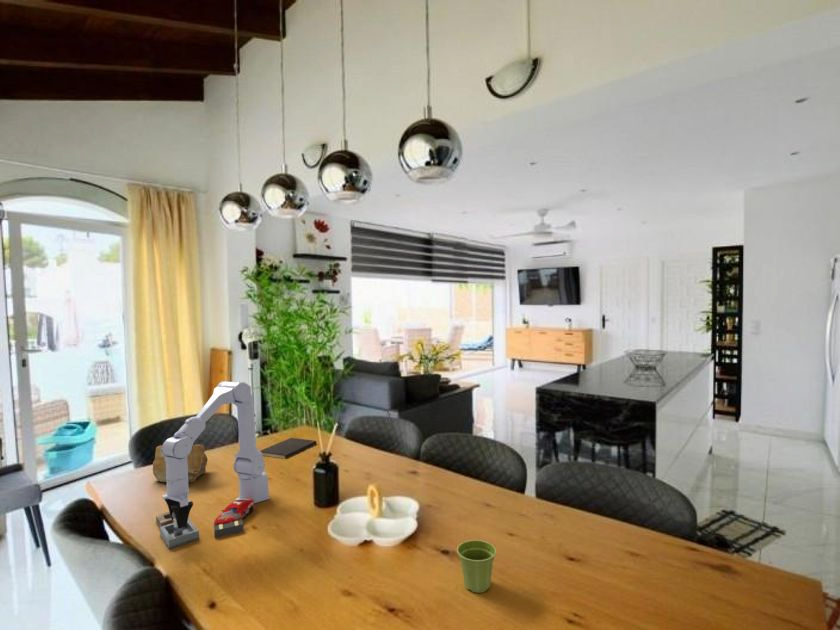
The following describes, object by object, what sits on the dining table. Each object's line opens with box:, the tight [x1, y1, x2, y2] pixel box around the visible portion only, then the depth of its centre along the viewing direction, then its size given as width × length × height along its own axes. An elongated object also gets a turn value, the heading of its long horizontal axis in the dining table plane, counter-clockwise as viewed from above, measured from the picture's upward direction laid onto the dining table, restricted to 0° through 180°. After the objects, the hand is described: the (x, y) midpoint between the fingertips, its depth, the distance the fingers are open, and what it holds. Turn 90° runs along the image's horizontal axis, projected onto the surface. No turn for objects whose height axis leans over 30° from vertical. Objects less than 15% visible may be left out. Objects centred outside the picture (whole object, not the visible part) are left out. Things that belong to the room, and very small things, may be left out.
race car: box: [213, 499, 255, 526], centre depth 146 cm, size 16×7×5 cm, turn 168°
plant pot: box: [456, 539, 497, 594], centre depth 108 cm, size 9×9×9 cm
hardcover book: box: [259, 437, 317, 460], centre depth 217 cm, size 16×23×2 cm
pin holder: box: [155, 511, 174, 528], centre depth 144 cm, size 7×7×2 cm
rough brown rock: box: [152, 443, 208, 483], centre depth 184 cm, size 23×17×15 cm
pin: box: [172, 512, 183, 537], centre depth 135 cm, size 3×3×7 cm
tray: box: [159, 517, 200, 550], centre depth 135 cm, size 8×11×2 cm
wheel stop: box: [213, 519, 244, 539], centre depth 137 cm, size 8×3×3 cm, turn 117°
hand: (178, 522), depth 135 cm, fingers open, 7 cm apart
